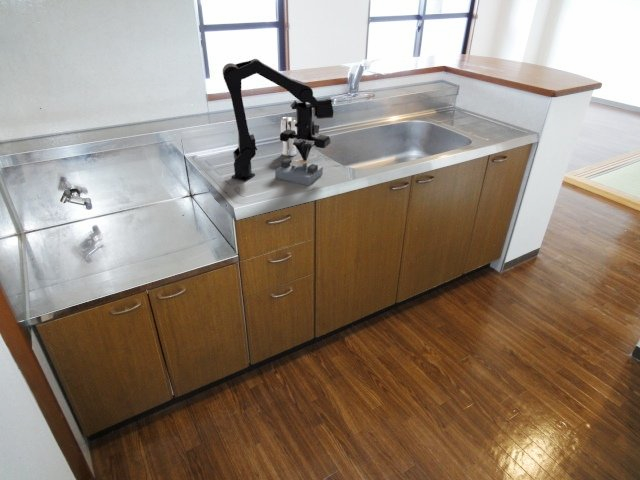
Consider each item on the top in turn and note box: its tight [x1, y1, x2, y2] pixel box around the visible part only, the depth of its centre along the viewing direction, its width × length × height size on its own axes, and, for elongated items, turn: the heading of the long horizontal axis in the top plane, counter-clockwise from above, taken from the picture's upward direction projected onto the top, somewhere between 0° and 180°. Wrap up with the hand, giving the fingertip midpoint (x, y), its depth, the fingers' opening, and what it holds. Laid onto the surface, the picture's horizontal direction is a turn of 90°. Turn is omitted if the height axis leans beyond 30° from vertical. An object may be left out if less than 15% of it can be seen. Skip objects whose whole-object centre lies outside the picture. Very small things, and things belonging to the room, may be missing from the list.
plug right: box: [307, 163, 319, 174], centre depth 158 cm, size 4×2×2 cm, turn 154°
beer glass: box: [280, 116, 297, 157], centre depth 178 cm, size 7×7×15 cm
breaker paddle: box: [290, 158, 309, 167], centre depth 159 cm, size 8×4×1 cm, turn 154°
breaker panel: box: [274, 159, 324, 186], centre depth 160 cm, size 12×14×5 cm
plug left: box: [280, 158, 292, 168], centre depth 162 cm, size 4×2×2 cm, turn 154°
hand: (305, 159), depth 163 cm, fingers closed, pressing on breaker paddle
